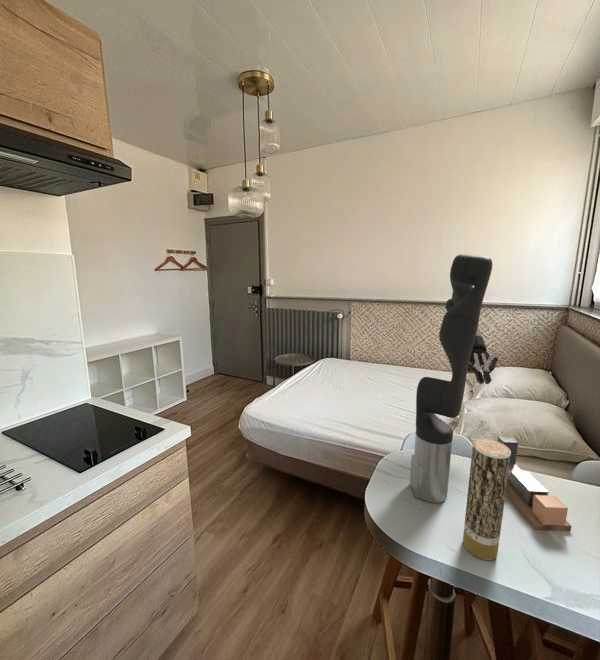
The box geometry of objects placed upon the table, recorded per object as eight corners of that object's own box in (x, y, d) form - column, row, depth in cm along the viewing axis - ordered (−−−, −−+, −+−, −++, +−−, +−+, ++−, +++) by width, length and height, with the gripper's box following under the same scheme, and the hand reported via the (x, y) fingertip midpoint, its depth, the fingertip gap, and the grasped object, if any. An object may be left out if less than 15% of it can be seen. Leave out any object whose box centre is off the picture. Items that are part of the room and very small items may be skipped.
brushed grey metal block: (530, 506, 79) (535, 471, 77) (494, 466, 96) (498, 436, 94) (546, 506, 79) (552, 471, 77) (508, 466, 95) (512, 437, 93)
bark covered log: (487, 536, 73) (500, 439, 68) (503, 563, 66) (518, 457, 61) (457, 534, 73) (467, 437, 69) (470, 560, 67) (482, 455, 62)
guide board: (535, 529, 74) (536, 524, 74) (490, 475, 94) (491, 471, 94) (570, 531, 74) (571, 525, 74) (518, 476, 94) (518, 472, 93)
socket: (543, 524, 74) (545, 507, 73) (531, 511, 78) (534, 495, 77) (565, 525, 74) (568, 508, 73) (552, 512, 78) (555, 495, 77)
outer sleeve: (527, 506, 80) (529, 491, 79) (508, 485, 88) (510, 471, 87) (546, 506, 80) (548, 491, 79) (525, 485, 87) (527, 471, 87)
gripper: (456, 334, 112) (468, 378, 102) (495, 334, 111) (511, 378, 101) (449, 345, 118) (460, 387, 108) (486, 345, 117) (500, 388, 108)
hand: (485, 383), depth 105 cm, fingers closed
